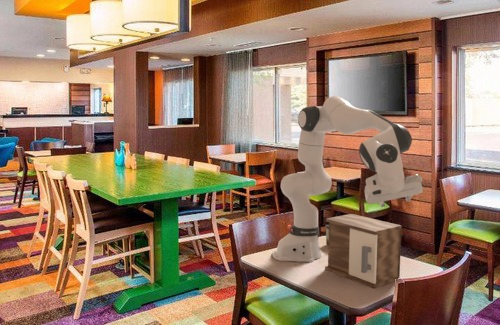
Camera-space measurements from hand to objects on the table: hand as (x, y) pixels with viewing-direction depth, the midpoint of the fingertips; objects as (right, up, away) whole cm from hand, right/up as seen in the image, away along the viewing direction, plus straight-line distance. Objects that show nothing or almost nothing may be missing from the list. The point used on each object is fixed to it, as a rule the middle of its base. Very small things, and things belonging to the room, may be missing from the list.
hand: (395, 202), depth 178 cm
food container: (-12, -27, +58) cm, 65 cm away
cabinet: (-7, -31, +20) cm, 38 cm away
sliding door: (-12, -31, +9) cm, 34 cm away
